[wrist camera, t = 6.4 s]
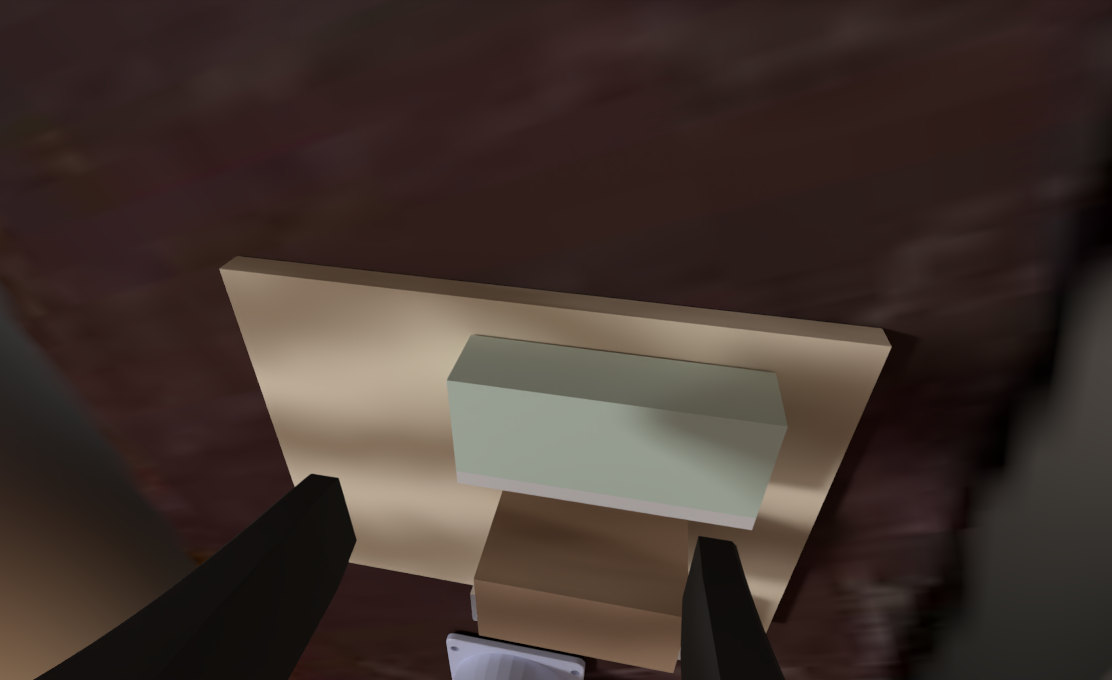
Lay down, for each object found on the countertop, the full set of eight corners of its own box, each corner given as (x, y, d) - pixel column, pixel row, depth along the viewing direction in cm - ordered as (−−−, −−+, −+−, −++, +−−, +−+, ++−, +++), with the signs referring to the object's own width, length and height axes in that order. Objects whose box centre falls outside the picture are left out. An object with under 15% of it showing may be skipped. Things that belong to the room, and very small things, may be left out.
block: (674, 550, 24) (673, 673, 20) (511, 523, 25) (478, 635, 21) (687, 494, 22) (688, 618, 18) (510, 467, 23) (473, 579, 19)
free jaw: (745, 473, 21) (752, 530, 19) (478, 433, 22) (457, 483, 20) (776, 372, 18) (788, 426, 16) (470, 334, 20) (446, 380, 18)
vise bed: (761, 617, 27) (763, 638, 27) (328, 540, 30) (319, 556, 29) (882, 328, 18) (891, 346, 17) (237, 255, 21) (219, 268, 20)
